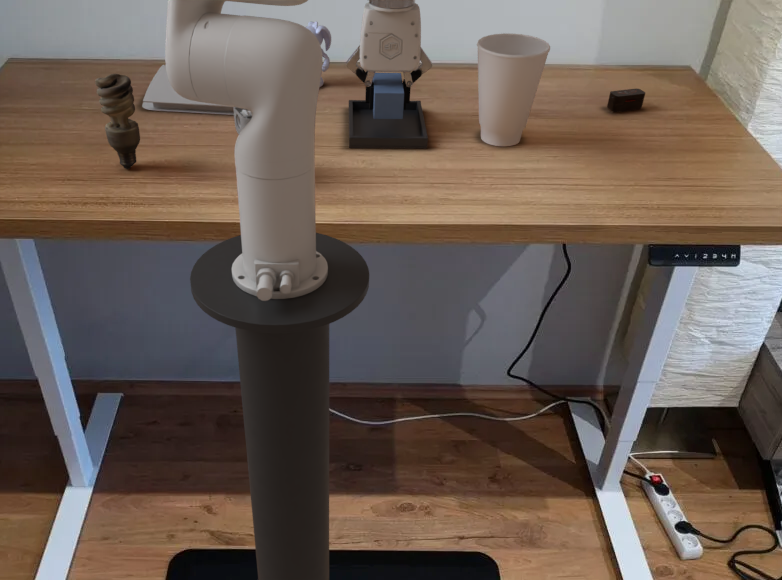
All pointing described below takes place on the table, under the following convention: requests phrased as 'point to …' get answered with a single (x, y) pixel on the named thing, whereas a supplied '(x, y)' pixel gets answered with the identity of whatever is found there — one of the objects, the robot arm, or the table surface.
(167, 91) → the book
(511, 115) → the cup
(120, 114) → the light bulb
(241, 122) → the mechanical component
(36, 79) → the table surface
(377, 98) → the rectangular block
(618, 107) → the wireless earbuds
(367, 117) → the black tray
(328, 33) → the toy figurine
